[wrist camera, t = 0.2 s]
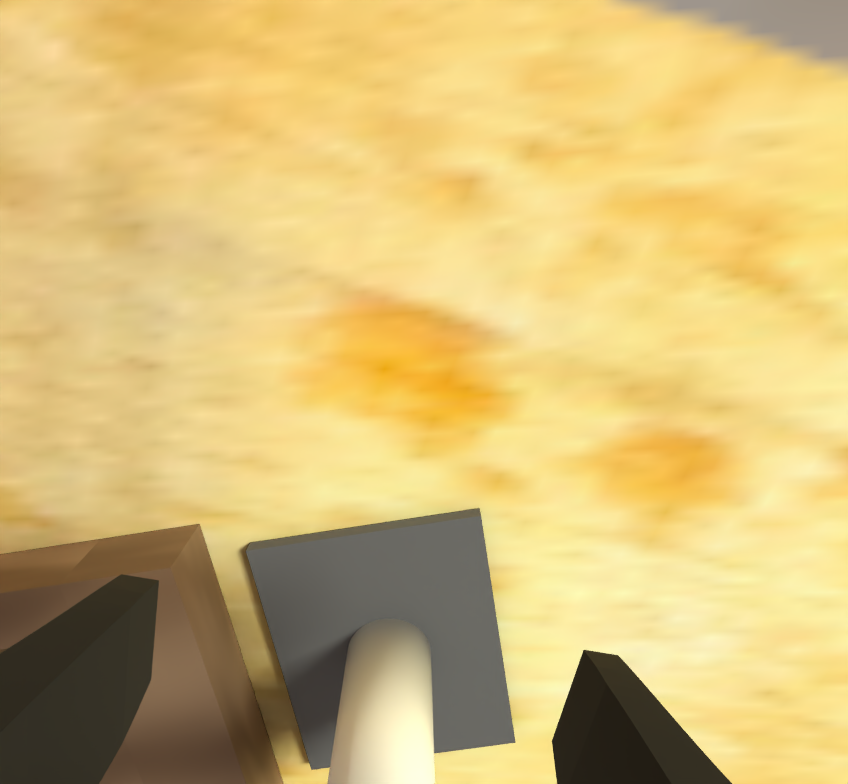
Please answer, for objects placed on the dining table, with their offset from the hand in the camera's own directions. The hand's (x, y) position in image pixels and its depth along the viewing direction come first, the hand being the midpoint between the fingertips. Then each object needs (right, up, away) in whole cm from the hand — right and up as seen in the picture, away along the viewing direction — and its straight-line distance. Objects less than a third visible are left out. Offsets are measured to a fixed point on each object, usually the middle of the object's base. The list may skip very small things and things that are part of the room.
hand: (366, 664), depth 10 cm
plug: (0, -5, +11) cm, 12 cm away
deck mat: (0, -5, +12) cm, 13 cm away
